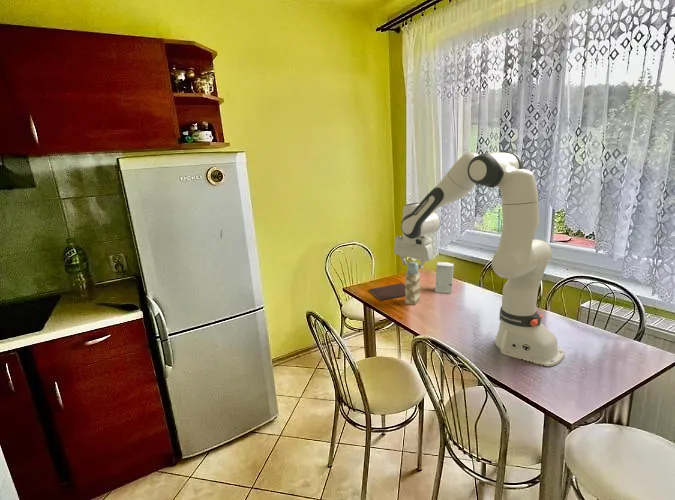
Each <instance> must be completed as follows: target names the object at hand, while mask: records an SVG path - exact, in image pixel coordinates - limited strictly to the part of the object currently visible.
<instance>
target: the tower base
mask: <svg viewBox="0 0 675 500" xmlns="http://www.w3.org/2000/svg"><path fill="white" fill-rule="evenodd" d="M405 294H406V296H405V304H408V305H411V306H416V305H418V304H419V303H420V302H421V301H420V300H421V295H420V294H421V292H420V293H419V294H416V295H410V294H407V293H405Z"/></svg>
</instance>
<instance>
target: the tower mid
mask: <svg viewBox="0 0 675 500" xmlns="http://www.w3.org/2000/svg"><path fill="white" fill-rule="evenodd" d="M404 285H405V293H407V294H410V295H416V294H419V293H420V294H421V282H419V283H418V284H417V285H416V286H415V285H409V284H406V282H404Z"/></svg>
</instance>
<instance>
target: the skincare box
mask: <svg viewBox="0 0 675 500" xmlns="http://www.w3.org/2000/svg"><path fill="white" fill-rule="evenodd" d="M454 265H455V263H454V262H446V261H443V262H442V261H437V262H436V273H435V287H434V291H435V292H434V293H440V294H441V293H442V294H452V292H453V278H454Z"/></svg>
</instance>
